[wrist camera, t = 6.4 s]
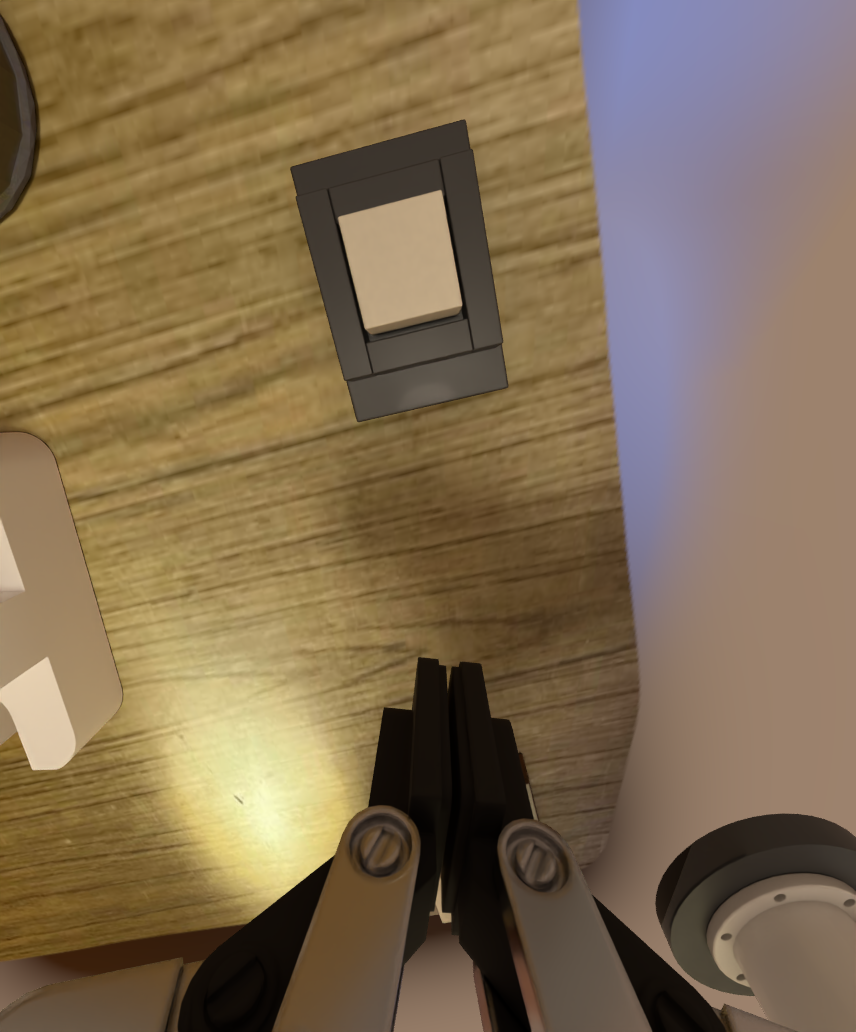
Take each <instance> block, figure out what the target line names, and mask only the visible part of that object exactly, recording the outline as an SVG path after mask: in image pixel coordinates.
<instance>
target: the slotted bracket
mask: <svg viewBox="0 0 856 1032" xmlns="http://www.w3.org/2000/svg"><path fill="white" fill-rule="evenodd" d="M122 697H123V693H122V687H121V684H120V680H119V677H118V674H117V670H116V667H115V663H114V660H113V656H112V653H111V649H110V646H109V643H108V639H107V636H106V632H105V629H104V625H103V622H102V619H101V615H100V612H99V608H98V605H97V601H96V598H95V595H94V591H93V588H92V584H91V581H90V577H89V574H88V571H87V567H86V564H85V560H84V557H83V553H82V550H81V547H80V543H79V540H78V536H77V533H76V529H75V526H74V522H73V519H72V516H71V512H70V509H69V505H68V502H67V498H66V495H65V492H64V488H63V485H62V481H61V478H60V474H59V471H58V468H57V464H56V461H55V458H54V456H53V454H52V452H51V451H50V449H49V448H48V447H47V446H46V444H45V443H43V442H42V441H41V440H40V439H38V438H37V437H35V436H33V435H30V434H27V433H23V432H5V433H0V745H1V744H2V743H4V742H5V741H6V740H7V739H8V738H10V737H11V736H12V735H13V734H15V733H16V732H17V731H18V734H19V737H20V739H21V742H22V744H23V747H24V749H25V752H26V755H27V757H28V760H29V762H30V765H31V767H32V770H51V769H59V768H61V767H63V766H64V765H65V764H67V763H68V762H69V761H70V760H71V759H72V758H73V757H74V756H75V754H76V753H77V752H78V751H79V750H80V749H81V748H82V747H83V746H84V745H85V744H86V743H87V742H88V741H89V740H90V739H91V738H92V737H93V736H94V735H95V734H96V733H97V732H98V731H99V730H100V729H101V728H102V727H103V726H104V725H105V724H106V723H107V722H108V721H109V720H110V719H111V718H112V716H113V715H114V714H115V713H116V712H117V711H118V710H119V708H120V706H121V703H122Z"/></svg>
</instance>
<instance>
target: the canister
mask: <svg viewBox="0 0 856 1032" xmlns="http://www.w3.org/2000/svg"><path fill="white" fill-rule="evenodd" d="M35 139H36V118H35V104H34V100H33V96H32V93H31V89H30V85H29V81H28V78H27V74H26V70H25V68H24V66H23V63H22V61H21V59H20V57H19V55H18V53H17V50H16V48H15V46H14V44H13V42H12V40H11V37H10V35H9V33H8V31H7V29H6V27H5V24H4V22H3V20H2V18H1V17H0V218H2V217H3V216H4V215H5V214H7V213H8V212H9V211H10V210H11V209H12V208H13V207H14V205H15V203H16V201H17V200H18V198H19V196H20V194H21V192H22V191H23V189H24V187H25V185H26V184H27V182H28V180H29V178H30V176H31V171H32V163H33V155H34V147H35Z"/></svg>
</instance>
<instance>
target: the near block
mask: <svg viewBox="0 0 856 1032" xmlns="http://www.w3.org/2000/svg"><path fill="white" fill-rule="evenodd" d="M290 170H291V174H292V177H293V181H294V185H295V189H296V193H297V196H296V201H297V205H298V208H299V212H300V216H301V220H302V223H303V227H304V231H305V235H306V238H307V242H308V246H309V250H310V253H311V257H312V261H313V265H314V268H315V272H316V276H317V280H318V284H319V287H320V291H321V295H322V299H323V302H324V306H325V310H326V314H327V317H328V321H329V325H330V329H331V332H332V336H333V340H334V344H335V347H336V351H337V355H338V359H339V362H340V366H341V370H342V374H343V377H344V380H345V381H347V385H348V389H349V393H350V396H351V400H352V404H353V408H354V411H355V415H356V419H357V421H358V422H362V421H366V420H371V419H375V418H379V417H384V416H388V415H392V414H397V413H401V412H405V411H410V410H414V409H418V408H423V407H427V406H431V405H436V404H440V403H445V402H449V401H453V400H458V399H462V398H466V397H471V396H475V395H479V394H484V393H488V392H492V391H497V390H501V389H505V388H508V380H507V374H506V368H505V362H504V355H503V349H502V343H503V337H502V331H501V324H500V318H499V312H498V306H497V299H496V293H495V287H494V280H493V274H492V268H491V262H490V255H489V249H488V243H487V236H486V230H485V224H484V217H483V211H482V205H481V199H480V192H479V186H478V180H477V173H476V167H475V161H474V155H473V150H472V149H470V143H469V137H468V131H467V125H466V121H465V120H460V121H456V122H453V123H449V124H445V125H442V126H438V127H434V128H431V129H427V130H424V131H420V132H416V133H413V134H409V135H405V136H402V137H398V138H394V139H391V140H387V141H383V142H380V143H376V144H373V145H369V146H365V147H362V148H358V149H354V150H351V151H347V152H343V153H340V154H336V155H332V156H329V157H325V158H321V159H318V160H314V161H311V162H307V163H303V164H300V165H296V166H292V167H291V169H290ZM438 190H441V191H442V194H443V199H444V205H445V210H446V216H447V222H448V227H449V233H450V238H451V244H452V249H453V255H454V260H455V266H456V271H457V277H458V282H459V288H460V293H461V299H462V307H461V310H460V313H459V314H458V315H454V316H450V317H446V318H442V319H438V320H434V321H429V322H425V323H421V324H417V325H413V326H409V327H405V328H401V329H397V330H392V331H388V332H384V333H380V334H376V335H371V334H370V333H369V332H368V331H367V330H366V329H365V328H364V324H363V319H362V315H361V311H360V307H359V303H358V299H357V295H356V291H355V287H354V283H353V279H352V275H351V270H350V266H349V262H348V258H347V254H346V250H345V246H344V242H343V238H342V234H341V230H340V226H339V221H338V217H340V216H343V215H347V214H351V213H355V212H358V211H362V210H366V209H370V208H374V207H377V206H381V205H385V204H389V203H393V202H396V201H400V200H404V199H408V198H411V197H415V196H419V195H423V194H427V193H430V192H434V191H438Z"/></svg>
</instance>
